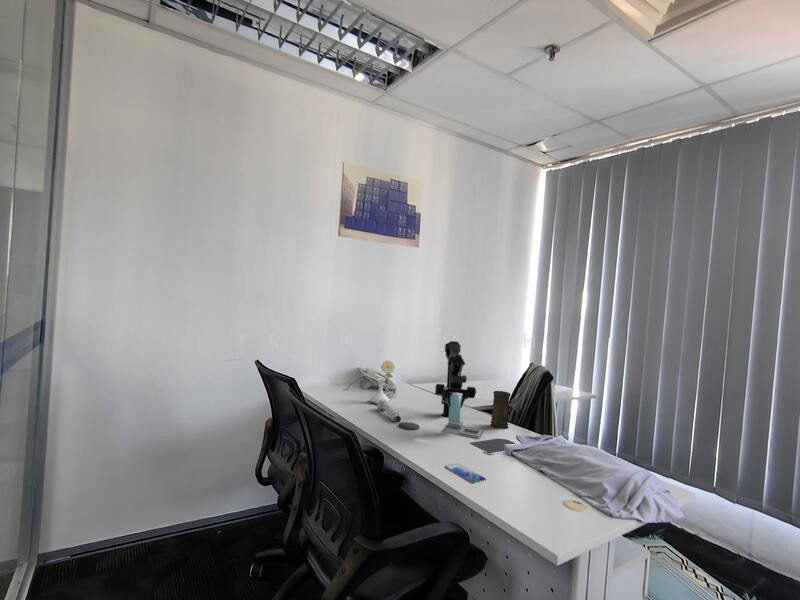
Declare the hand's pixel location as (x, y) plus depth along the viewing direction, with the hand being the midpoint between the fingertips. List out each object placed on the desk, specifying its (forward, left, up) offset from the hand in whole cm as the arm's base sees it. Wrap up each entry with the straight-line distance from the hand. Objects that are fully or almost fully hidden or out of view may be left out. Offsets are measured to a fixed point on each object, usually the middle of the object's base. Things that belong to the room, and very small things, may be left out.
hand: (455, 406), depth 192 cm
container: (-27, +17, -14) cm, 34 cm away
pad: (-1, -22, -13) cm, 26 cm away
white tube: (-12, -37, -14) cm, 42 cm away
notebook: (+3, +20, -14) cm, 25 cm away
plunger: (-12, -2, -12) cm, 17 cm away
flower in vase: (-33, -51, -14) cm, 62 cm away
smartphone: (+39, +14, -14) cm, 43 cm away
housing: (-8, +3, -13) cm, 16 cm away
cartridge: (-1, 0, -7) cm, 7 cm away
